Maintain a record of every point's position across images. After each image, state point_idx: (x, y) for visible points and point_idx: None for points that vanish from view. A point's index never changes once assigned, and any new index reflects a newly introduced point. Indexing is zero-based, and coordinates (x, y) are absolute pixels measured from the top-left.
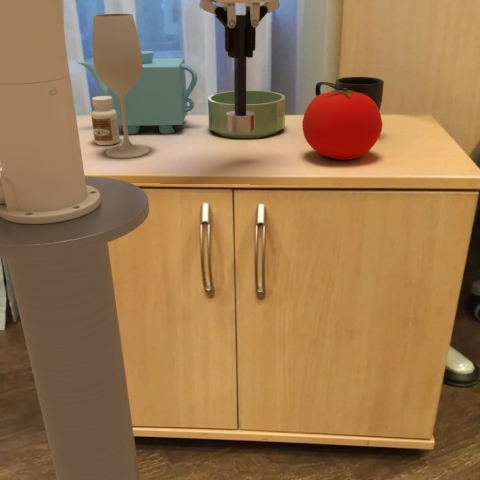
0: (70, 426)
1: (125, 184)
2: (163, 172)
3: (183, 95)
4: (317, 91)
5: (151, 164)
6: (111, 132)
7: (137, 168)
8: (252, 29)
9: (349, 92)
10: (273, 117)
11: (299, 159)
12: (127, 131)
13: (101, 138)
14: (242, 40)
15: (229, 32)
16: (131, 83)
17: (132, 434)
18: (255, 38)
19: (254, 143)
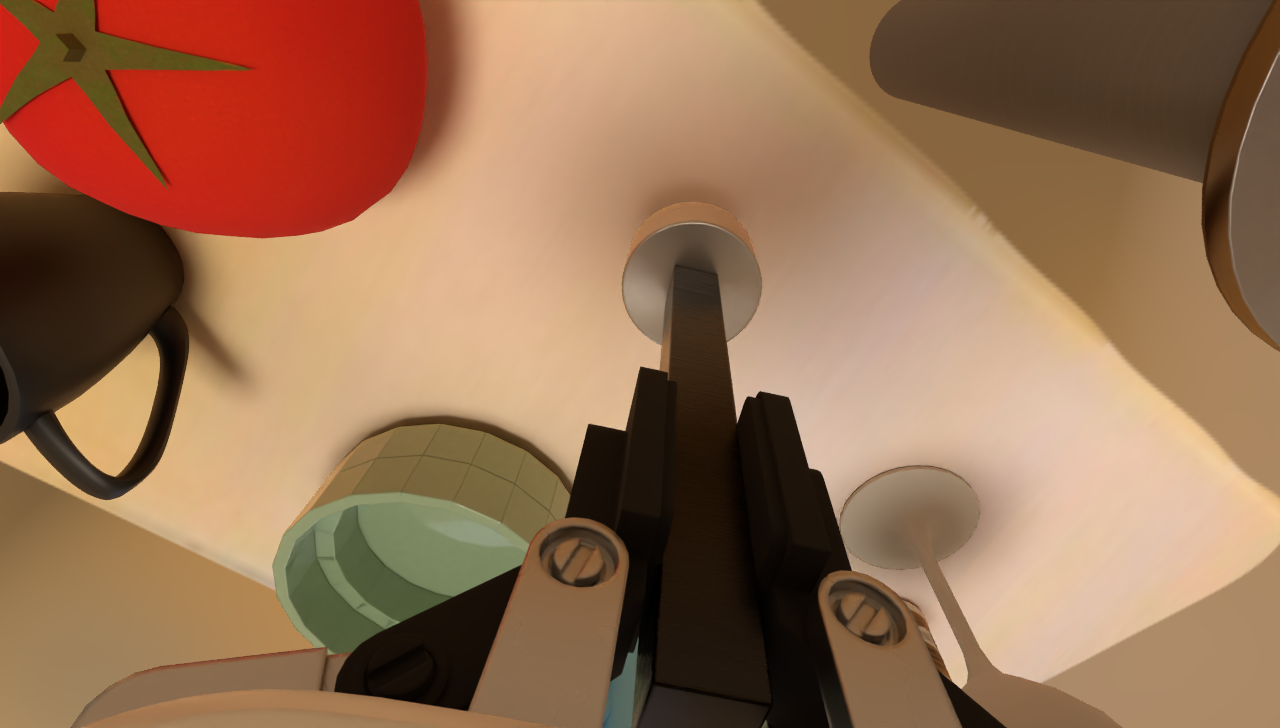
0: None
1: (1262, 153)
2: (974, 280)
3: (603, 723)
4: (142, 464)
5: (939, 378)
6: None
7: (1002, 367)
8: (629, 500)
9: (46, 13)
10: (391, 457)
11: (477, 117)
12: (929, 564)
13: (923, 623)
14: (702, 491)
15: (841, 568)
16: (1008, 687)
17: (988, 10)
18: (576, 472)
19: (517, 387)
